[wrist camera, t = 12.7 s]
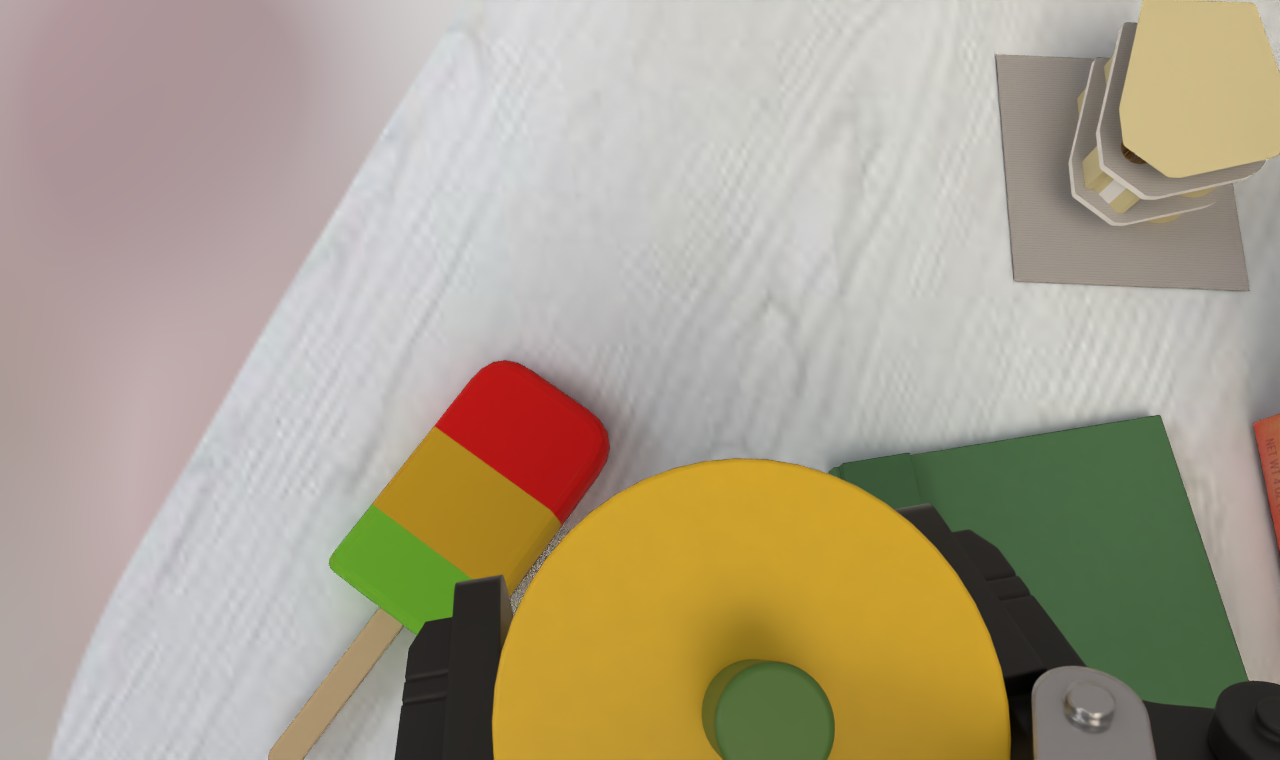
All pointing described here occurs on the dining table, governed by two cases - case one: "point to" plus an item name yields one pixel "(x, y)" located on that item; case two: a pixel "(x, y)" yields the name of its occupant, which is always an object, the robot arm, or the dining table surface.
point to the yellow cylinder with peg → (748, 631)
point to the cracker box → (1271, 463)
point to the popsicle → (458, 518)
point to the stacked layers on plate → (1140, 150)
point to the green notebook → (1088, 545)
